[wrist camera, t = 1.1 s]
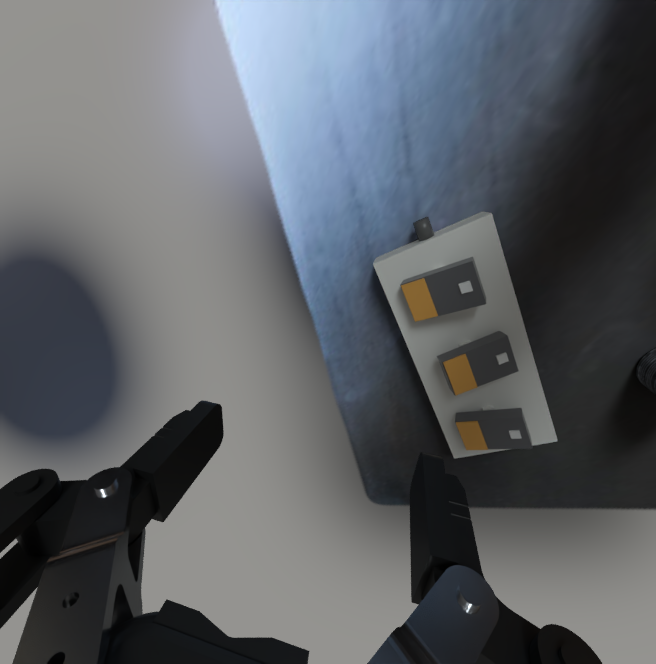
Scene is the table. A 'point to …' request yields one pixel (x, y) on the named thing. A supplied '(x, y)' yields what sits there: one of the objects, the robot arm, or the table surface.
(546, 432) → the power strip
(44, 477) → the robot arm
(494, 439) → the rocker
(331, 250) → the table surface
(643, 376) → the pill bottle
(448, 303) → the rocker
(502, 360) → the block
